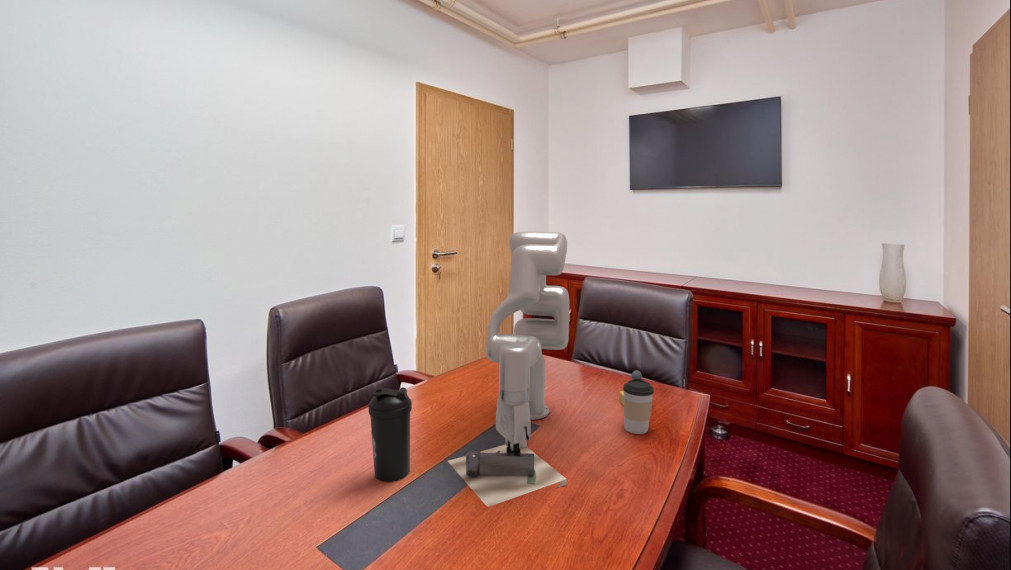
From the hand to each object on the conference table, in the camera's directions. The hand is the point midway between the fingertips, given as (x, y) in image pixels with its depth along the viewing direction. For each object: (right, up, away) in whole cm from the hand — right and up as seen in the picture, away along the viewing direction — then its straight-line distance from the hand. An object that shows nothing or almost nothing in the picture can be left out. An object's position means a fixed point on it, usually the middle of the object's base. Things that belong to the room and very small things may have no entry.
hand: (513, 461), depth 120 cm
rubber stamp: (+43, +3, +45) cm, 62 cm away
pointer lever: (-3, -2, -3) cm, 5 cm away
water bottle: (-30, -4, -2) cm, 31 cm away
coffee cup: (+38, 0, +26) cm, 46 cm away
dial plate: (-2, -3, 0) cm, 4 cm away
